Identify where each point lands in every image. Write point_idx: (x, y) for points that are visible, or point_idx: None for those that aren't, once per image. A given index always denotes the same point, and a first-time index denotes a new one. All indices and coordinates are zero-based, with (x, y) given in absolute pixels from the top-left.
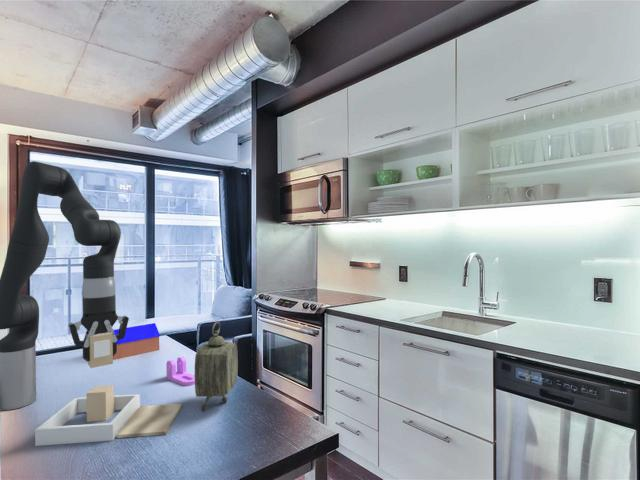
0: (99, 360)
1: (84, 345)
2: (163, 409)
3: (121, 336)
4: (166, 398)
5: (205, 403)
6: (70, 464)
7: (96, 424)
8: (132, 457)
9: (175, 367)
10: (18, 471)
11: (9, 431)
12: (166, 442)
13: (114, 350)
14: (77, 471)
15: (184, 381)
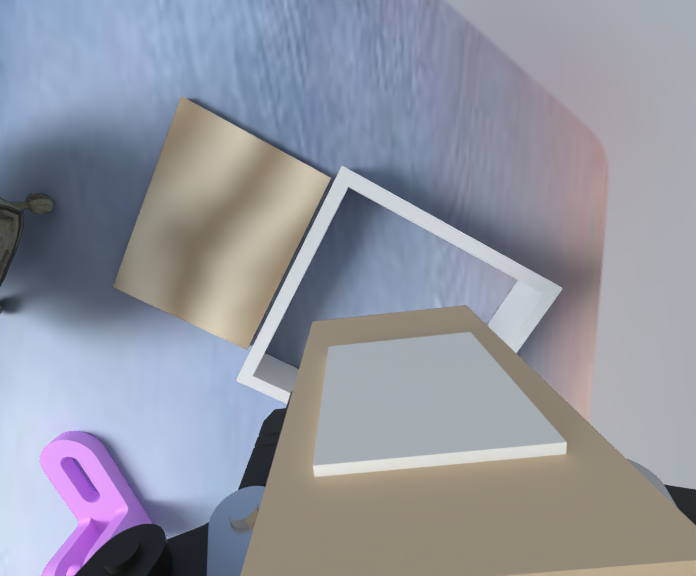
0: (414, 331)
1: (646, 477)
2: (177, 277)
3: (128, 558)
4: (165, 375)
5: (18, 202)
6: (463, 89)
7: (391, 204)
8: (298, 4)
9: (95, 544)
10: (583, 143)
11: (581, 409)
12: (189, 38)
13: (281, 428)
14: (450, 26)
15: (90, 454)
